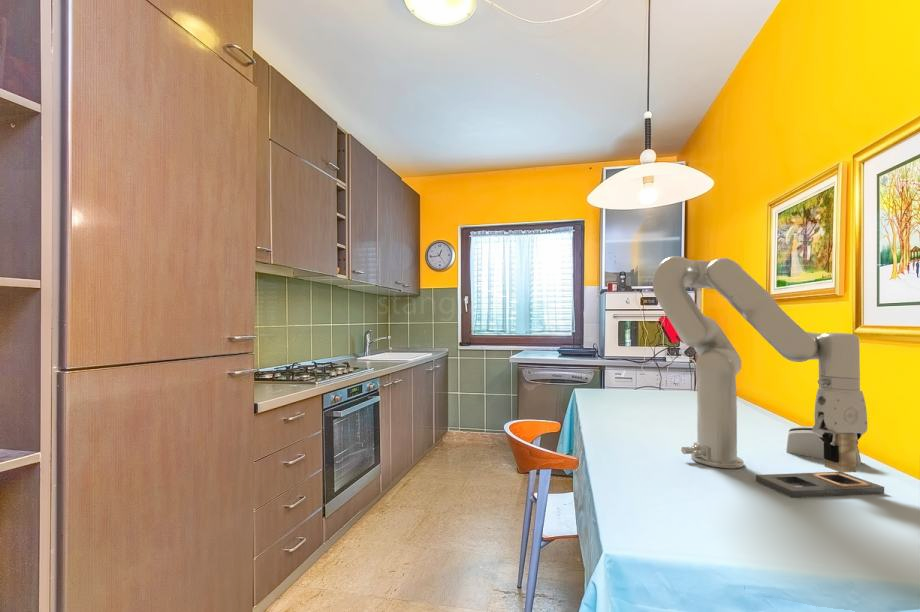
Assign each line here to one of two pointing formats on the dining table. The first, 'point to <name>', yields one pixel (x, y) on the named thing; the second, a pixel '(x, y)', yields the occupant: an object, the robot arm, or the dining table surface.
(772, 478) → the grey flat holed plate
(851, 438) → the plug
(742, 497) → the dining table surface
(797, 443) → the grey slotted arched block
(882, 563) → the dining table surface
